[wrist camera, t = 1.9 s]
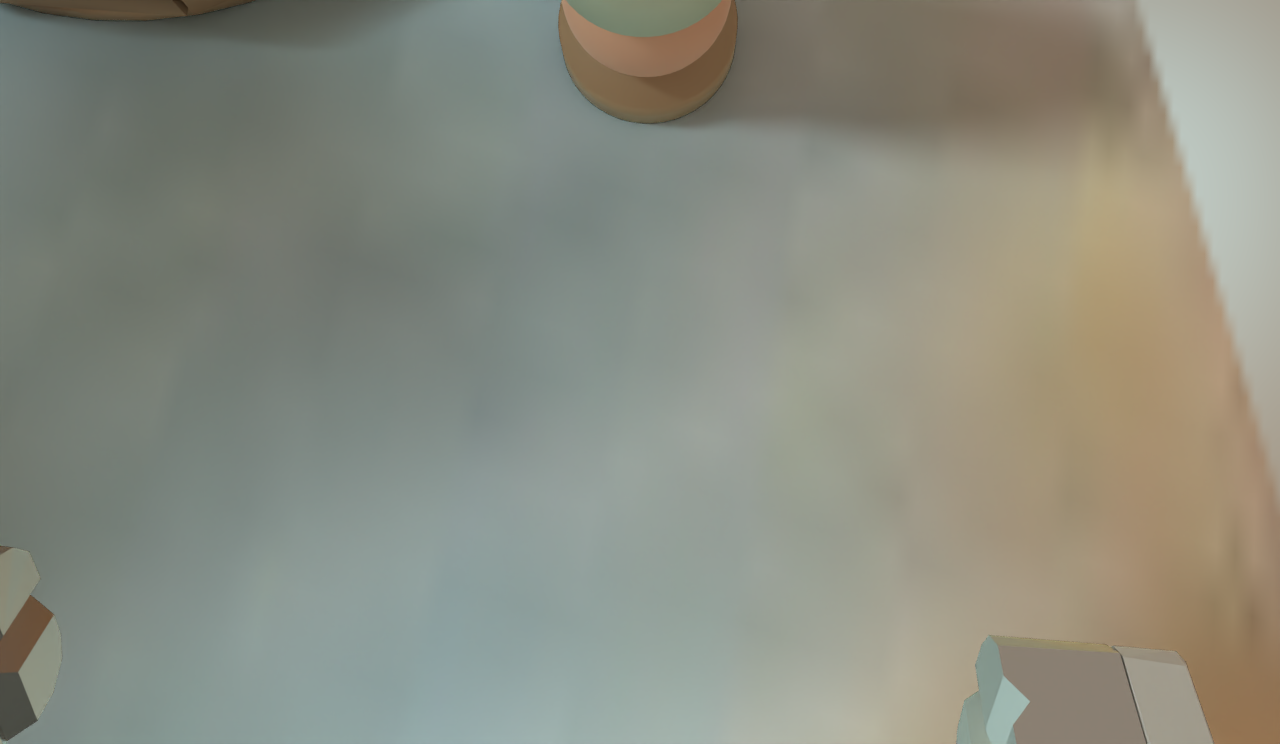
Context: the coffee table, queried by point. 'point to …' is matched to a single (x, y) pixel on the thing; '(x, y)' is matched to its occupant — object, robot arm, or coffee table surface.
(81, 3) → the walnut tray
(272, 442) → the coffee table surface
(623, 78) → the bead column
